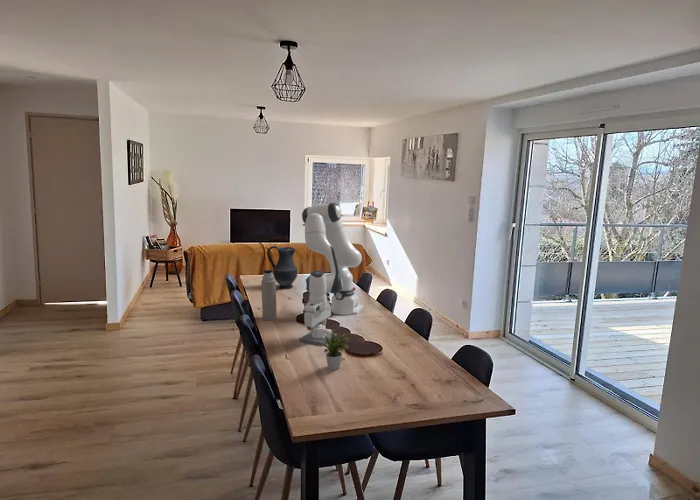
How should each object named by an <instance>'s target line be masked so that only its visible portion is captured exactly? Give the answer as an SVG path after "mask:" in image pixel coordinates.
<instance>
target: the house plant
mask: <svg viewBox="0 0 700 500" xmlns="http://www.w3.org/2000/svg"><path fill="white" fill-rule="evenodd" d="M331 333H332V334H331V340H330V341H331V342H330V341H329V339H330V338H329V337H328V338H329V339H328V338H327V337H326V336H325V335H324V336H325V338H326V339H325V338H324V339H325V341H326V342H327V343H328V344H327V343H326V342H325V341H324V340H323V339H322V341H324V342H325V343H326V344H321V345H323V347H326V348H325V349H324V351H323V352H324V353H325V358H326V363H327V369H329V370H331V371H337V370H339V369H340V368H341V365H342V363H341V362H342V358H343V349H348V348H349V346H348V344H345V342H346V343H347V342H348V339H349V337H346V338H344V336H345V335H346V334H347V333H343V334H342V331H341V332H339V334H338V336H337V337H336V338H335V335H334V331H333V330H331ZM341 334H342V335H341ZM321 345H320V346H321Z"/></svg>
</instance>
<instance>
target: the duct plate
mask: <svg viewBox="0 0 700 500" xmlns="http://www.w3.org/2000/svg"><path fill="white" fill-rule="evenodd" d="M315 328H322V323H318V324H316V325H315ZM331 334H332V332H331ZM331 334H326V337H327V338H328V337H329V338H330V339H329V338H328V339H329V341H330V340H331ZM334 335H335V337H336V336H337V335H339V334H338V333H334ZM324 338H325V337H324ZM324 338H319V339H317V338H313V337H312V333H311V331H309V332H308V333H306V334H305V335H302V336H301V337H300V338H299V340H298V341H299V342H302V343H306V344H312V345H318V346H323V345H321V344H326V343H327V342H326V341H325V339H326V338H325V339H324ZM336 338H337V337H336ZM322 339H323V340H324V341H325V342H326V343H325V342H324V341H322ZM330 343H331V341H330ZM327 344H328V343H327ZM327 344H326V345H327ZM323 347H324V346H323Z"/></svg>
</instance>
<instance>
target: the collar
mask: <svg viewBox="0 0 700 500" xmlns="http://www.w3.org/2000/svg"><path fill="white" fill-rule="evenodd" d="M314 328H315V327H314ZM315 330H316V333H315V334H312V337H313V338H317V339H319V338H324V337H325V336H326V334H331V333H332V329H328V328H326V327H325V326H324V325H322V328H315ZM324 335H325V336H324Z"/></svg>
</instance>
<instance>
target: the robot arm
mask: <svg viewBox="0 0 700 500" xmlns="http://www.w3.org/2000/svg"><path fill="white" fill-rule="evenodd" d="M301 218H302V222H303V223H304V241H305V245H306V247H307V248H308V249H309V250H311V251H313V252H315V253H318V254H321V255H323V256H325V260H326V261H327V262H328V263H329V268H330V273H325V271H322V270H314V271H311V272H310V273H309V275H308V276H307V277H306V279H305V283H306V288H305V290H306V292H308V293H309V297H308V299H309V300H308V301H307V303H306V304H305V305H304V307H303V311H305V312H304V315H303V316H304V317H303V318H304V319H303V321H304V326H305V327H307V328H309V329H310V332H311V333H312V334H315V333H316V330H315V328H314V327H315V325H316V324H322V325H324V326H325V328H326V324H327V319H328V318H330V317H331V316H332V313H333V314H335V315H339V316H340V315H343V316H345V315H346V316H347V315H356V314H359V313H360V312H361V311H362V309H363V308H364V305H363V304H361V303H360V302H361V301H360V298H359V297H358V295H357V294H355V291H356V290H357V287H354V286H353V285H354V283H353V281H354V280H353V279H354V277H353V274H352V272H351V271H350V270H349V268H357V267H359V266H360V264H361V263H362V259H363V256H362V253H361V252H360V251H359V250H358V249H357V248H356V247H355V246H354V245H353V244H352V242H351V241H350V239H349V237H348V236H347V234H346V230H345V228H344V225H343V223H342V220H341V218H342V209H341V207H340V205H339V204H338V203H336V202H330V203H319V204H316V205H313V206H308V207H305V208H304V209H303V210H302V213H301ZM327 294H333V295H332V297H331V303H330V302H329V300H328V296H327Z"/></svg>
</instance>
